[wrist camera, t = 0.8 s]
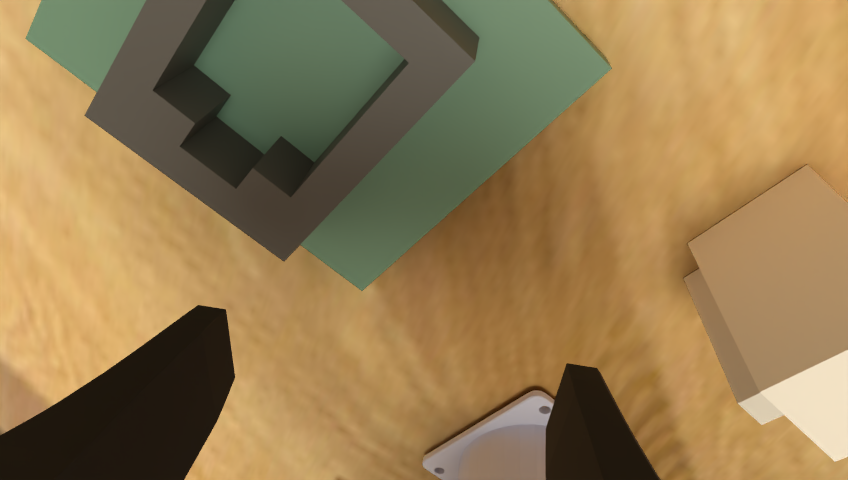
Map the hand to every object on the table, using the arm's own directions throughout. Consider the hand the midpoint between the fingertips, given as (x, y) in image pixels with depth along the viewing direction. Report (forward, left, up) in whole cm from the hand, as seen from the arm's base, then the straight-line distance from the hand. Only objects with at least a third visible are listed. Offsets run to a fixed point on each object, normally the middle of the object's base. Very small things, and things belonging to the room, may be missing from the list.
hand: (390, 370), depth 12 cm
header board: (+6, -1, -10) cm, 11 cm away
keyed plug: (-10, -7, -10) cm, 15 cm away
